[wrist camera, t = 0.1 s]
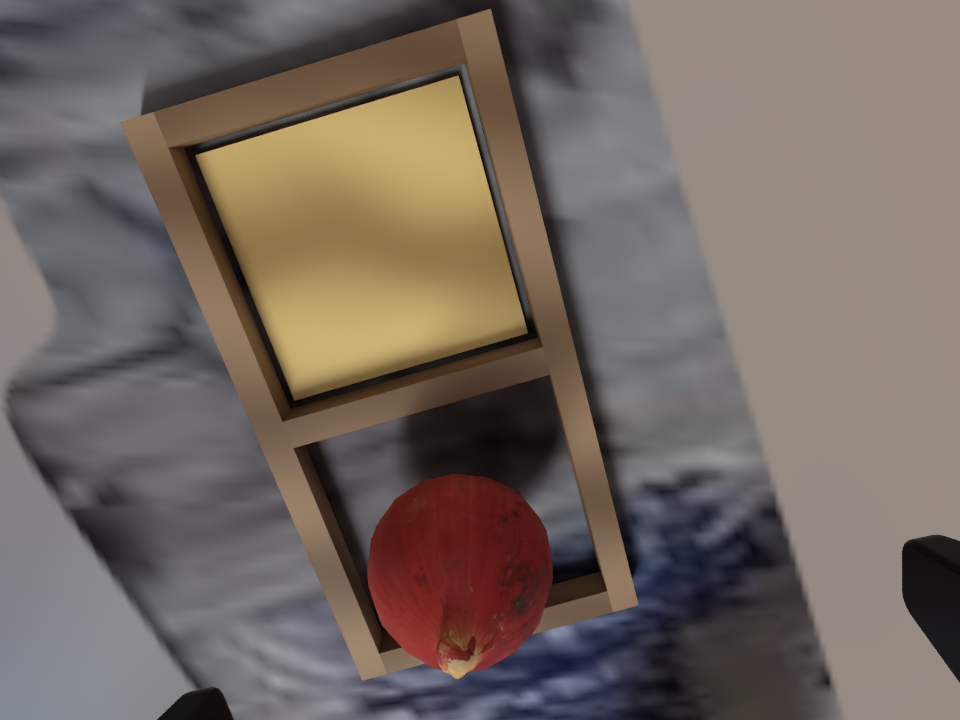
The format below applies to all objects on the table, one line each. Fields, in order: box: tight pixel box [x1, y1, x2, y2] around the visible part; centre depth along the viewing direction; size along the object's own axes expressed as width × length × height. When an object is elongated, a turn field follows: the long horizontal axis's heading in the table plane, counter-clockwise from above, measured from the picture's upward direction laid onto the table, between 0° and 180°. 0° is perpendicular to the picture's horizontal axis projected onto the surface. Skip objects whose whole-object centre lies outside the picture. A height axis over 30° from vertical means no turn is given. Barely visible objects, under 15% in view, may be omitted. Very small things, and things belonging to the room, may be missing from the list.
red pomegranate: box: [367, 473, 553, 679], centre depth 20 cm, size 6×6×8 cm
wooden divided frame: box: [120, 9, 638, 680], centre depth 22 cm, size 21×11×1 cm, turn 16°
